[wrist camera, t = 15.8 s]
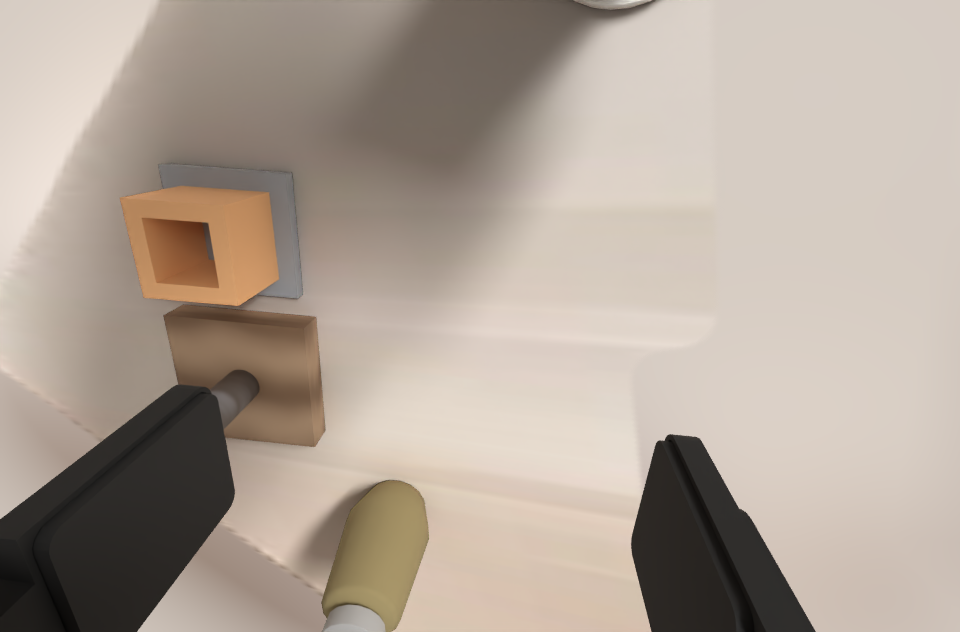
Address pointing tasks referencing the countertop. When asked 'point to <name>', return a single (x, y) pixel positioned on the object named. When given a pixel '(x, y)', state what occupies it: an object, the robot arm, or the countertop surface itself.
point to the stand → (253, 370)
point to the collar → (202, 243)
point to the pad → (280, 209)
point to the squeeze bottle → (376, 560)
